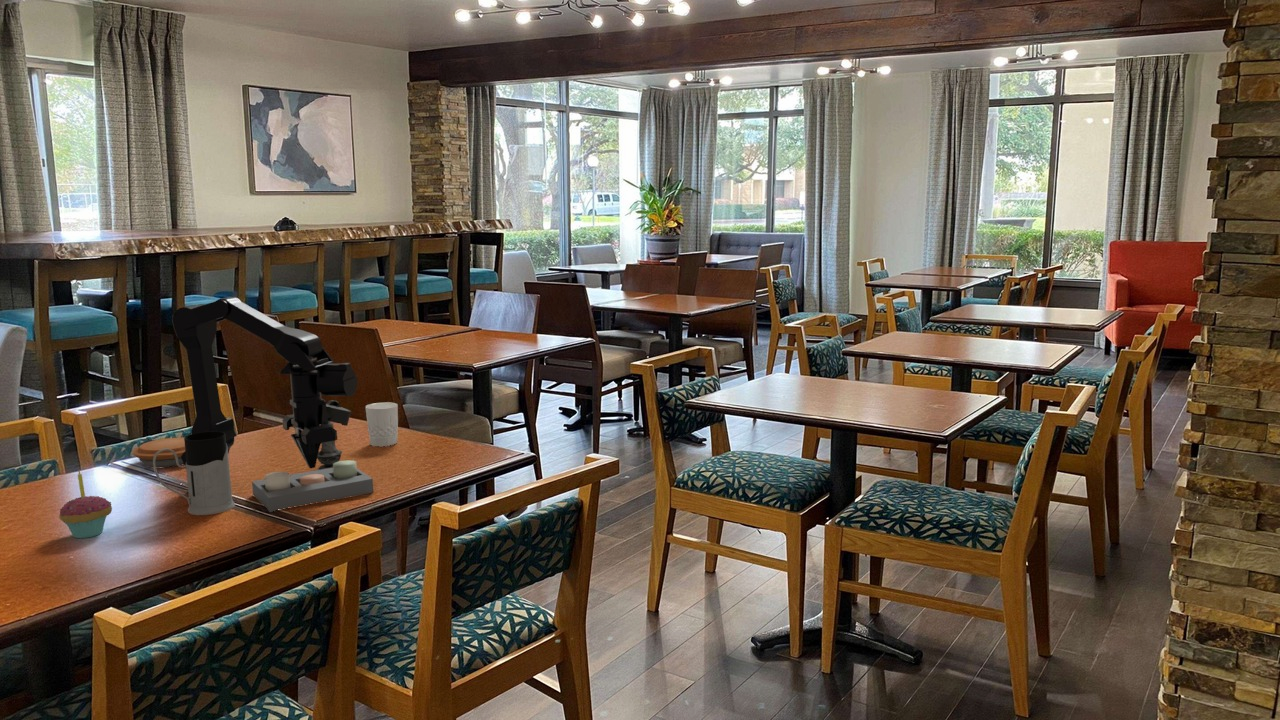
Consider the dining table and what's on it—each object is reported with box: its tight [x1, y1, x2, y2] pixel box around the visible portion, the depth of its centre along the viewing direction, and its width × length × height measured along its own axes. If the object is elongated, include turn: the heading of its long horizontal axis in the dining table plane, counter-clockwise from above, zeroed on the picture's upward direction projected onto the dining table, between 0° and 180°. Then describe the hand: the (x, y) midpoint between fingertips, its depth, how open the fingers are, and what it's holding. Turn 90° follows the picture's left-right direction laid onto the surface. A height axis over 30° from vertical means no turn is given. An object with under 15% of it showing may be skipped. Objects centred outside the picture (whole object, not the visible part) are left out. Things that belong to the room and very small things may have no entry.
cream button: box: [264, 471, 291, 492], centre depth 191 cm, size 5×5×3 cm
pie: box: [132, 436, 185, 468], centre depth 222 cm, size 16×16×5 cm
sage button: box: [333, 460, 358, 480], centre depth 199 cm, size 5×5×3 cm
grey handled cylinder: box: [153, 431, 236, 516], centre depth 184 cm, size 9×14×15 cm, turn 132°
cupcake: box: [58, 469, 113, 539], centre depth 172 cm, size 9×8×12 cm
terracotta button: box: [300, 474, 325, 486], centre depth 195 cm, size 5×5×3 cm
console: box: [251, 468, 374, 513], centre depth 195 cm, size 21×14×3 cm, turn 125°
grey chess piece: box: [317, 421, 343, 470], centre depth 214 cm, size 6×6×12 cm
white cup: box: [365, 401, 399, 448], centre depth 236 cm, size 8×8×10 cm
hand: (312, 467), depth 194 cm, fingers closed
